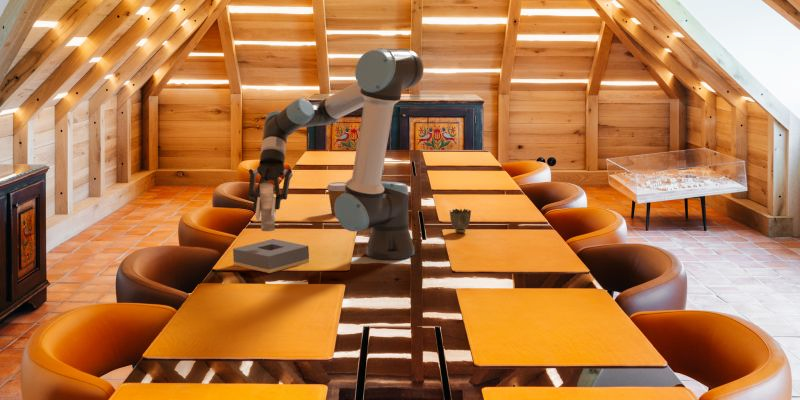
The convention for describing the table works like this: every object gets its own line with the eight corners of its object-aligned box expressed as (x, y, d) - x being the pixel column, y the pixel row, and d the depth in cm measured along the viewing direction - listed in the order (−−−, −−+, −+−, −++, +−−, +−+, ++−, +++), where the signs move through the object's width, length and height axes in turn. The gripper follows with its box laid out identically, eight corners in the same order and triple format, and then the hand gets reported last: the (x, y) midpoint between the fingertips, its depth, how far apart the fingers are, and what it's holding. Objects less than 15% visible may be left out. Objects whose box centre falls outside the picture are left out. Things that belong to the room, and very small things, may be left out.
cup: (457, 229, 293) (457, 207, 291) (475, 232, 288) (475, 209, 287) (445, 233, 287) (445, 210, 286) (462, 236, 283) (462, 213, 281)
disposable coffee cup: (351, 216, 319) (350, 185, 317) (326, 216, 319) (325, 185, 317) (352, 211, 329) (352, 181, 327) (328, 211, 329) (328, 182, 327)
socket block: (309, 261, 251) (308, 245, 250) (269, 273, 239) (268, 256, 238) (273, 254, 261) (272, 238, 260) (233, 264, 249) (233, 248, 248)
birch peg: (277, 229, 249) (275, 183, 246) (267, 231, 246) (265, 185, 243) (268, 227, 251) (266, 182, 249) (258, 230, 248) (256, 184, 246)
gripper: (301, 162, 260) (295, 224, 247) (247, 162, 261) (238, 224, 247) (298, 147, 254) (292, 210, 241) (243, 147, 254) (234, 210, 241)
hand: (265, 217), depth 244 cm, fingers closed on birch peg, 4 cm apart
